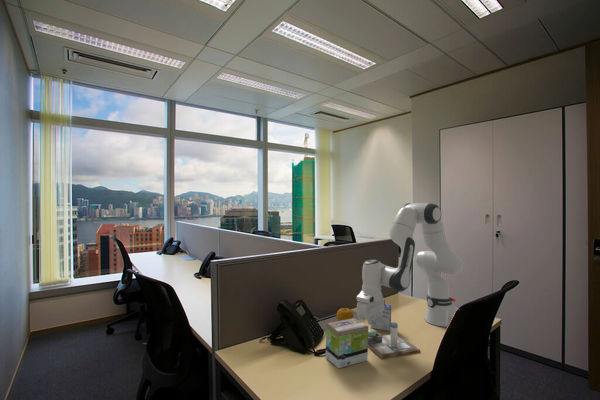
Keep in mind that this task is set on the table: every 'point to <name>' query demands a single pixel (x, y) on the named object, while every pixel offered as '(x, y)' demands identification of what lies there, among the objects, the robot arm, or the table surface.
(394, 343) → the cylinder
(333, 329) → the tea box
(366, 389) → the table surface
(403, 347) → the brown shallow tray
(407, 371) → the table surface
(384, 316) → the ink cartridge box
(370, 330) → the button
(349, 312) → the apple
